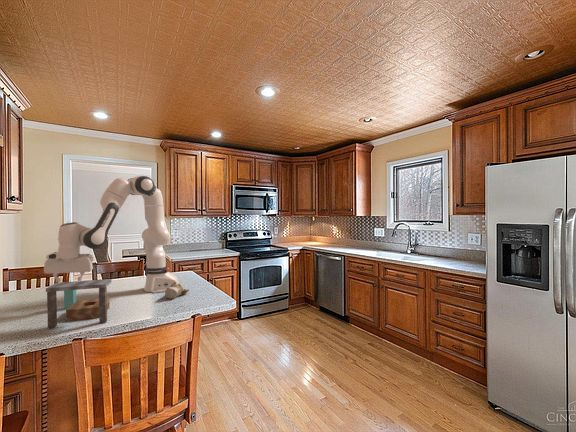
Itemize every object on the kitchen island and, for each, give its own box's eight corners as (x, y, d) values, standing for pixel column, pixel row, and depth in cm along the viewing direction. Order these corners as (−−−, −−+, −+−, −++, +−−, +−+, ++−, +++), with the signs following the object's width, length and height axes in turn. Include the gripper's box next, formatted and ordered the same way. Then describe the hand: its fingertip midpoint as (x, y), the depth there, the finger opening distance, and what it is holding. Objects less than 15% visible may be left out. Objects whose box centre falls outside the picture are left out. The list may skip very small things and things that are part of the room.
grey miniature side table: (118, 306, 151) (117, 273, 151) (106, 323, 130) (105, 284, 129) (68, 311, 144) (67, 276, 144) (46, 329, 123) (45, 288, 122)
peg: (76, 306, 152) (76, 285, 152) (73, 308, 148) (73, 287, 148) (67, 307, 151) (67, 286, 151) (64, 309, 147) (63, 288, 147)
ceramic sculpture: (159, 284, 163) (174, 279, 178) (159, 299, 163) (173, 293, 177) (177, 285, 161) (190, 280, 176) (176, 300, 161) (190, 294, 176)
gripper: (94, 252, 155) (94, 278, 155) (48, 254, 149) (48, 281, 149) (90, 254, 149) (90, 281, 149) (42, 255, 143) (42, 283, 143)
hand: (69, 281), depth 149 cm, fingers open, 8 cm apart
